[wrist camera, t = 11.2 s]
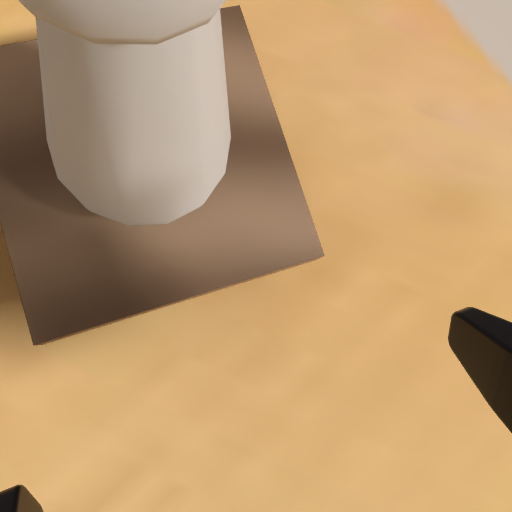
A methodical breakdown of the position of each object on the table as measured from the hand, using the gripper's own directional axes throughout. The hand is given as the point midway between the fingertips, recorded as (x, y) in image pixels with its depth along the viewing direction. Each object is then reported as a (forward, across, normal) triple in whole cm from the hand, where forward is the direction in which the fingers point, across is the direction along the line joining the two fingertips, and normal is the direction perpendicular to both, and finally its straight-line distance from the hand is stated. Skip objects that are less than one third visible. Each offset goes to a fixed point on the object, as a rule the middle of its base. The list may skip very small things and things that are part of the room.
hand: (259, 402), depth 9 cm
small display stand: (+14, 0, +2) cm, 15 cm away
